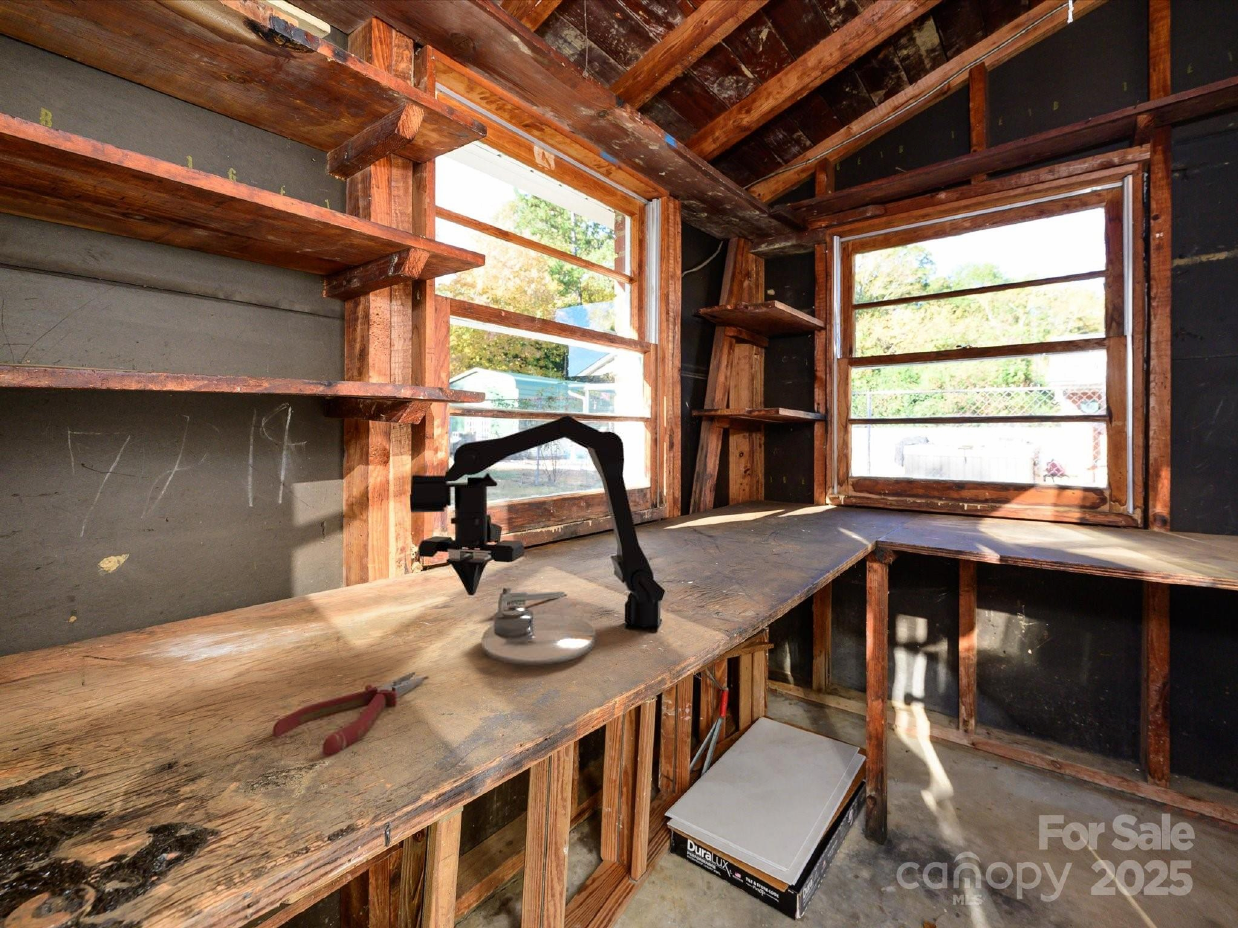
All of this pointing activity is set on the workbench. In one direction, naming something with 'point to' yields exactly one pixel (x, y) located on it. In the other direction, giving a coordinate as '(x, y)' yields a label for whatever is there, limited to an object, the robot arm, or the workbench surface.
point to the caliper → (524, 597)
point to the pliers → (363, 724)
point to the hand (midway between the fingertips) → (471, 594)
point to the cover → (513, 621)
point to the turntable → (542, 641)
